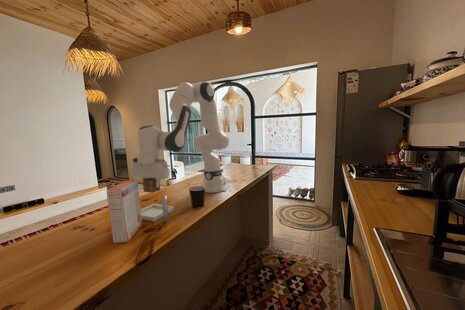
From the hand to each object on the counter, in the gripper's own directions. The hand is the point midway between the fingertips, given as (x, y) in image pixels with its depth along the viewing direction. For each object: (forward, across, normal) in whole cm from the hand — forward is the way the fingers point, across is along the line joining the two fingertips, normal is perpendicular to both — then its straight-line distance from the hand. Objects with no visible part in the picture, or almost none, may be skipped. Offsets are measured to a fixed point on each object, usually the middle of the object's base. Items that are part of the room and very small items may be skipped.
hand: (151, 186), depth 98 cm
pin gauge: (+14, -12, +5) cm, 19 cm away
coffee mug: (+14, -15, -18) cm, 28 cm away
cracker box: (+15, -5, +19) cm, 24 cm away
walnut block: (+2, 0, 0) cm, 2 cm away
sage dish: (+14, 0, 0) cm, 14 cm away
